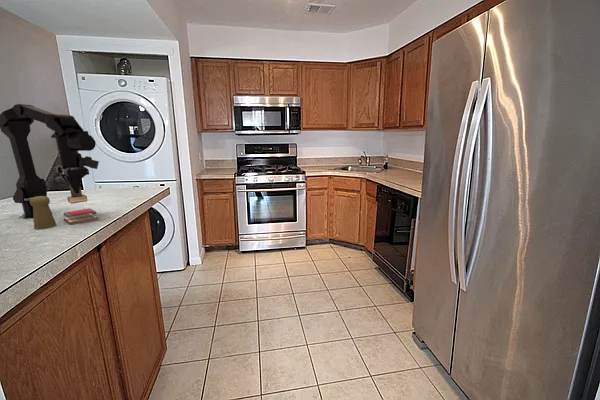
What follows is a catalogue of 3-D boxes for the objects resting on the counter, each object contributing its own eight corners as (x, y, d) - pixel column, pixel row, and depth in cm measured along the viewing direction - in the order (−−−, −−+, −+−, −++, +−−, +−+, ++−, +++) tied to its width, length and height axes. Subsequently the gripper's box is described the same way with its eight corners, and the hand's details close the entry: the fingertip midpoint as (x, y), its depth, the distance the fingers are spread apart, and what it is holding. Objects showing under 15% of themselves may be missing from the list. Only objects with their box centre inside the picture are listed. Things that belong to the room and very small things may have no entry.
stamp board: (63, 220, 109) (63, 217, 109) (91, 215, 116) (91, 212, 116) (69, 225, 104) (69, 222, 103) (98, 219, 110) (98, 216, 110)
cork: (43, 229, 99) (36, 198, 96) (29, 228, 100) (22, 198, 98) (60, 224, 105) (54, 195, 102) (47, 223, 106) (41, 194, 103)
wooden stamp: (68, 201, 108) (63, 178, 106) (84, 199, 112) (79, 176, 110) (71, 203, 105) (66, 179, 103) (87, 201, 109) (83, 177, 106)
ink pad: (64, 214, 118) (63, 212, 117) (90, 210, 124) (89, 207, 124) (69, 218, 112) (68, 215, 112) (96, 213, 118) (96, 211, 118)
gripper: (102, 150, 104) (109, 192, 107) (87, 149, 116) (94, 187, 119) (63, 151, 96) (72, 197, 99) (51, 150, 108) (60, 191, 111)
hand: (76, 192), depth 107 cm, fingers closed on wooden stamp, 3 cm apart
